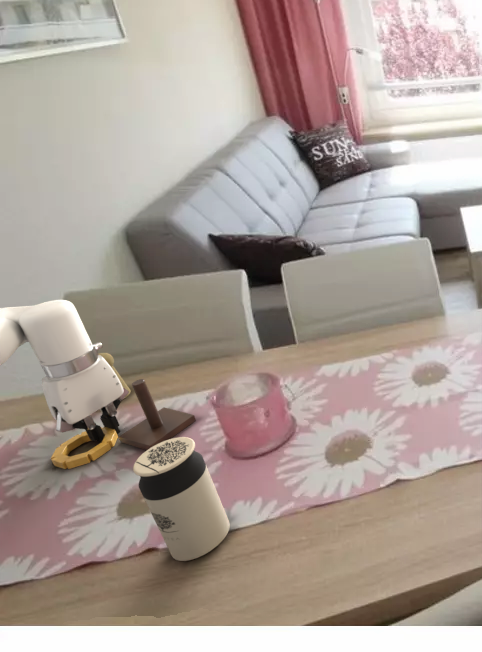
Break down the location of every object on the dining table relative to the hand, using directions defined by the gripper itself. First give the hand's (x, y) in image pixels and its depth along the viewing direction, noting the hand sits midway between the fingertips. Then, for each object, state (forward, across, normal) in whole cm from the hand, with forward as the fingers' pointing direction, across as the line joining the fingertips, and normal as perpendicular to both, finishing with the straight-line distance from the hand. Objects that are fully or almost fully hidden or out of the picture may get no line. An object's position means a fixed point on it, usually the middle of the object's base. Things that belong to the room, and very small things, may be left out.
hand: (106, 435), depth 110 cm
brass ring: (0, +4, 0) cm, 4 cm away
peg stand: (0, -4, +9) cm, 10 cm away
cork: (+1, -9, -13) cm, 16 cm away
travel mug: (+1, +12, +42) cm, 44 cm away
